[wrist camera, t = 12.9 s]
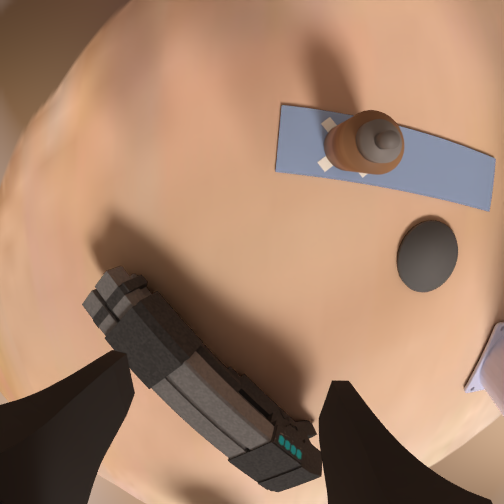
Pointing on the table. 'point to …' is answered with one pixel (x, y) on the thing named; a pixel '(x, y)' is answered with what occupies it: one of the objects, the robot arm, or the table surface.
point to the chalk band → (402, 177)
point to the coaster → (427, 256)
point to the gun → (202, 384)
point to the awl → (365, 144)
